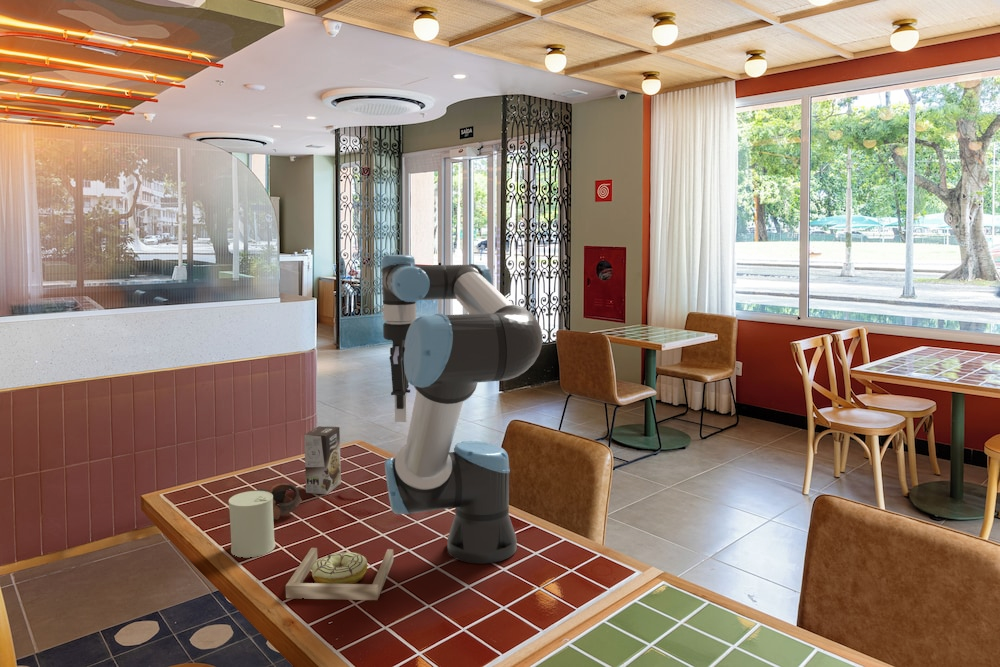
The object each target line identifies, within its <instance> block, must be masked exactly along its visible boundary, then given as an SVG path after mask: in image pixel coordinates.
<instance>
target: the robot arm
mask: <svg viewBox="0 0 1000 667" xmlns="http://www.w3.org/2000/svg"><path fill="white" fill-rule="evenodd" d="M380 271H381V280H382V281H381V282H382V307H380V311H381V312H383V313H382V319H383V321H384V323H383V324H382V326H383V327H382V333H383V336H382V337H383V339H384V340H387V341H391V342H392V344H391V345H392V346H391V347H390V350H389V354H390V356H389V364H390V371H391V372H390V373H391V385H392V387H391V388H392V391H391V393H390V395H391V396H394V423H400V422H401V423H407V422H408V393H411V389H409V386H410V385H411V386H412V387H414V389H415V391H416V392H415V397H414V403H413V408H412V412H411V417H410V418H411V419H410V422H409V427H408V433H407V437H406V443H405V444H404V445H403V446H401V447H400V449H399V450H398V451H397V453H396V455H395V456H391V457H389V458H386V459H385V460H384V473H385V480H386V486H387V493H388V499H389V503H390V504H389V505H390V508H391V511H392V513H394V514H395V515H412V514H418V513H425V512H432V511H441V510H446V509H455V513H454V514H455V515H454V518H453V520H452V524H451V527H450V529H449V532H448V537H447V552H448V554H449V555H450V556H452V558H455V559H456V560H459V561H461V562H465V563H469V564H479V565H482V564H493V563H499V562H503V561H505V560H506V559H509V558H511V557H512V556H513V555H515V554H516V551H517V544H518V543H517V542H518V541H517V535H516V531H515V528H514V526H513V524H512V520H511V518H510V514H509V513H510V512H509V509H510V506H509V505H510V496H509V495H510V472H511V469H510V462H509V455H508V452H507V451H506V450H505V449H504V448H503V447H501V446H499V445H496V444H493V443H491V442H485V441H477V440H468V441H467V440H466V441H465V440H464V441H461V442H457V443H456V444H455V445H454V447H453V451H452V452H451V451H450V450H451V446H452V443H453V440H454V436H455V432H456V430H457V424H458V421H459V417H460V414H461V411H462V407H463V404H464V402H465V401H467V400H468V399H469V398H471V397H472V396H473V394H474V393H475V391H476V388H477V386H478V383H489V382H501V381H508V380H512V379H514V378H516V377H519V376H521V375H522V374H524V373H525V372H526V371H528V370H529V368H531V366H533V365H534V364H535V362H536V361H537V358H538V357H539V355H540V354H541V350H542V346H543V345H542V344H543V332H542V329H541V326H540V324H539V322H538V320H537V319H536V316H534V315H533V314H532V313H531V312H530V311H529V310H527V308H525V307H524V306H520V305H517V304H513V303H512V302H511V301H510V300H509V299H508V298H507V297H506V296H504V295H503V294H502V293H501V292H500V291H499V290H498V289H497V288H496V287H495V286H494V285H493V276H492V273H491V269H490V268H489V267H488V266H487V265H485V264H475V263H469V264H441V265H440V264H439V265H438V264H437V265H436V264H434V265H433V264H429V265H428V264H426V265H425V264H423V265H421V264H420V265H416V262H415V256H413V255H411V254H387V255H384V256H383V257H382V258H381V268H380ZM423 300H424V301H425V300H426V301H427V300H429V301H430V300H431V301H432V300H456V301H458V302H459V304H460V305H461V306H462V307H463V308H464V310H465V311H466V312H467V313H466V314H465V313H464V314H443V313H435V314H433V315H422V316H419V317H417V307H416V306H417V302H418V301H423ZM409 384H410V385H409Z"/></svg>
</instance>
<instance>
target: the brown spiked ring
mask: <svg viewBox="0 0 1000 667" xmlns="http://www.w3.org/2000/svg"><path fill="white" fill-rule="evenodd" d="M290 490H292V491H293V492H294V494H295V497H294V499H293V498H292V497H289V496H287V495H286V493H287V491H290ZM254 491H266V492H269V493H271V494H272V495H273V520H276V521H277V520H279V519H280V517H283V516H286V515H288V514H291V513H293V512H294V511H296V509H297V508H298V507H299V506H300V504H301V503H302V502H303V501H302V498H301V496H300V491H299V489H298V488H297V487H296V486H295V485H294V484H291V483H286V482H283V483H276V484H274V485H273V486H272V487H270V488H269V490H267V489H264V488H258V489H255V490H254ZM278 505H279V506H278Z"/></svg>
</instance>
